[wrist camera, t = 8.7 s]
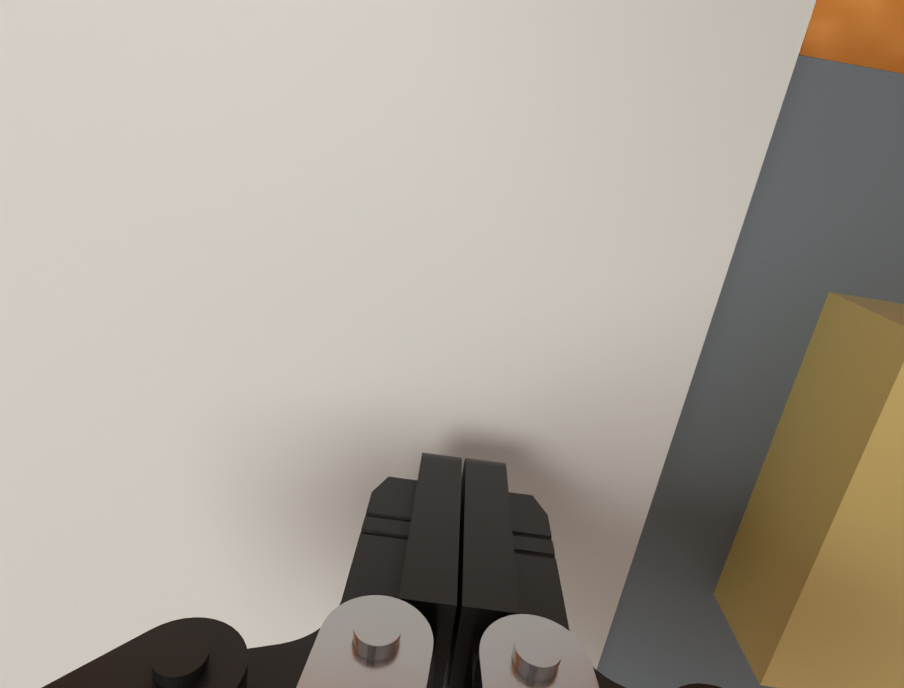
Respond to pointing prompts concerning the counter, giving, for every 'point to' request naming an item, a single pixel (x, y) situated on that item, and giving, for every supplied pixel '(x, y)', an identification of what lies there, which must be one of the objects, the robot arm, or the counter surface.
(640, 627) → the tray
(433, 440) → the white flat block
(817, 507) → the yellow block
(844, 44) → the counter surface
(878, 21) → the counter surface
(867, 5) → the counter surface
